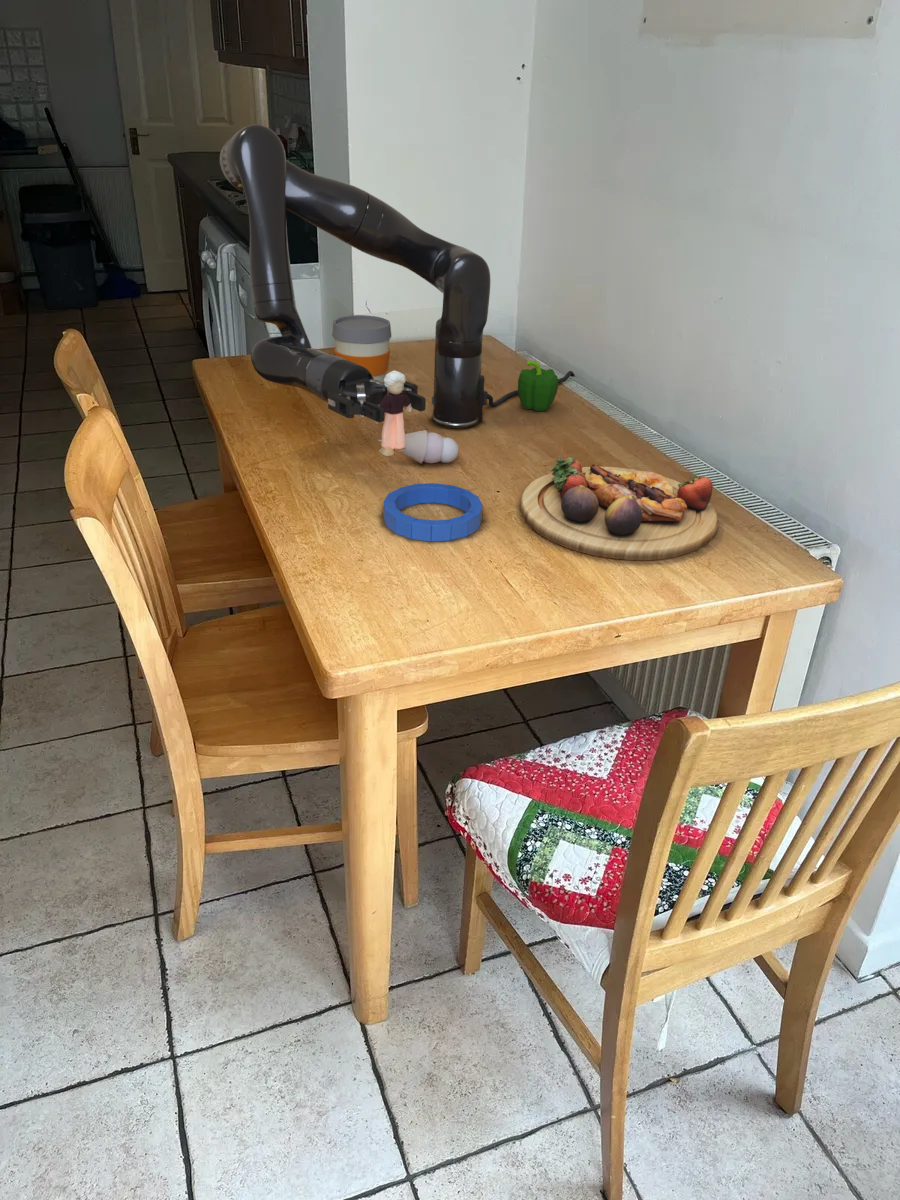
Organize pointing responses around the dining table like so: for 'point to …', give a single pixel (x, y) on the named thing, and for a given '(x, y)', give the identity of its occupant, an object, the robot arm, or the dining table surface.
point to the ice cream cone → (429, 447)
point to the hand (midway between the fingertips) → (403, 410)
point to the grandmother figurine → (394, 414)
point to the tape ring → (432, 528)
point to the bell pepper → (537, 387)
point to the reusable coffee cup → (364, 342)
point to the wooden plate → (620, 511)
